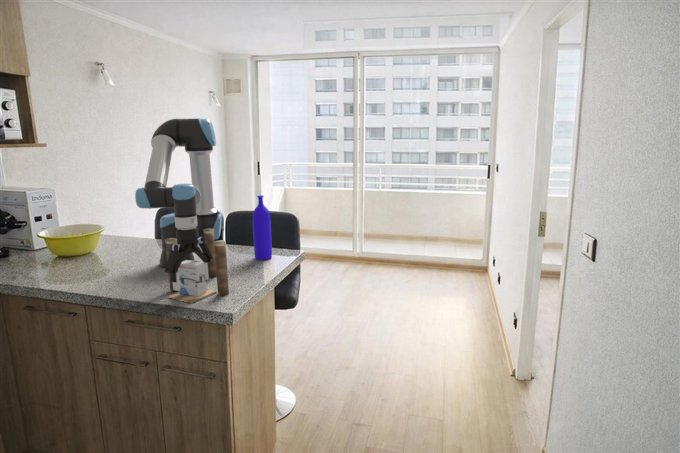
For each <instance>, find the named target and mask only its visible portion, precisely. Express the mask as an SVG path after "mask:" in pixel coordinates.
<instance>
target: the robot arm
mask: <svg viewBox="0 0 680 453" xmlns="http://www.w3.org/2000/svg"><path fill="white" fill-rule="evenodd" d="M215 134H216V133H215V129H214V126H213V123H212V121H211V120H210V119H208V118H172V119H169V120H166V121H165V122H163V123H161V124H159V126H158V127H157V128H156V129H155V131H154V132H153V134H152V137H151V139H150V140H151V141H150V143H151V144H150V145H151V147H152V150H151V153H150V154H151V155H150V160H149V162H148V169H147V172H146V173H147V174H146V177H145V182H144V187H139V188H137V189H136V190H135V196H134V197H135V203H136V206H137V207H138V208H140V209H163V208H170V209H171V208H172V209H173V211H174V212H173V213H168V214H165V215H163V216H161V217H160V219H159V229H160V237H161V246H162V247H161V253H160V258H159V267H161V268H165V269H164V272H165V273H170V275H171V282H173V290H176V291H180V280H179V273H178V272H177V271H178V269H179V267H180V264H181V262H183V261H185V260H191V261H196V260H195V256H194V254H193V253H195V255H196V256H197V257H198V258H199V259H200V261H202V262H204V263H205V281H206V280H209V279H210V278H209V276H208V270H209V262H211V260H210V259H212V258H213V257H212V255H211V253H210V251H209V249H208V247H207V245H206V243H205V238H204V231H203V230H204V229H210V228H211V229H214V240H218V239H219V238H220V236H221V231H222V222H223V219H222V218H223V217H222V216H223V215H222V214H221V213H219V211H218V209H217V208H216V207H215V205H214V204H215V202H214V192H213V180H212V170H211V169H212V166H211V156H210V155H211V153H212V152H213V151H214V147H215V146H217V140H216V135H215ZM177 147H179V148H180V147H181V148H182V147H184V151H185V152H186V153H187V155H188V157H189V166H190V168H189V169H190V177H191V178H190V179H191V183H178V184H174V185H173V186H169V187H167V185H168V178H169V172H170V167H171V160H172V155H173V152H174V151H175V149H176V148H177ZM169 238H176V239H177V244H176V245H174V244H171V246H170V254H169V258H168V261H167V253H166V243H165V240H166V239H169Z"/></svg>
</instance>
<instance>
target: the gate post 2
mask: <svg viewBox="0 0 680 453" xmlns="http://www.w3.org/2000/svg"><path fill="white" fill-rule="evenodd" d="M203 231H204V238H205V243H206V245H207V247H208V249H209V251H210V253H211V255H212V257H213V258H212V259H210V260H211V262H209V270H208V276H209V279H213V278H217V275H216V261H215V248H214V242H215V241H216V239H214V229H211V228H210V229H204V230H203Z"/></svg>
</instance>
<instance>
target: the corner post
mask: <svg viewBox="0 0 680 453" xmlns="http://www.w3.org/2000/svg"><path fill="white" fill-rule="evenodd" d="M214 248H215V261H216V275H217V277H216V287H217V288H216V289H217V295H218V296H219V295H220V297H226V296H228V295H229V294H230V287H229V286H230V285H229V274H228V260H227V259H228V256H227V242H226V240H225V239H224V240H223V239H221V240H215V242H214ZM225 295H226V296H225Z"/></svg>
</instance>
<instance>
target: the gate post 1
mask: <svg viewBox="0 0 680 453" xmlns="http://www.w3.org/2000/svg"><path fill="white" fill-rule="evenodd" d="M165 243H166V253H167V261H168V258H169V254H170V246H171V244H174V245H176V244H177V239H176V238H169V239H166V240H165ZM177 272H178V271H177ZM168 282H169V292H170V291H171V292H170V293H177V292H179V291H176V290H173V282H171V275H170V273H168Z"/></svg>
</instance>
